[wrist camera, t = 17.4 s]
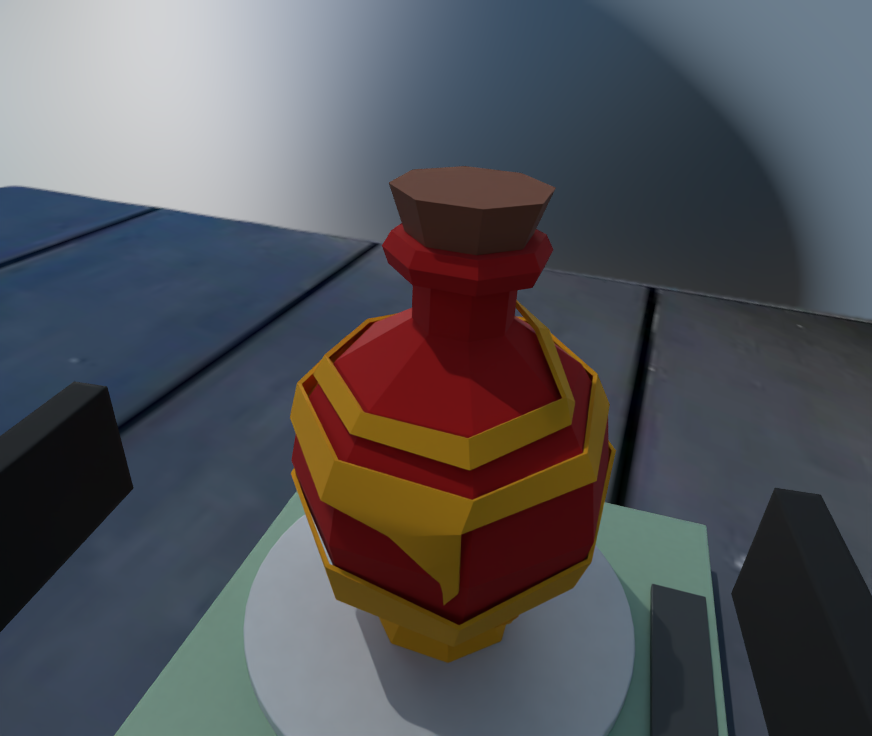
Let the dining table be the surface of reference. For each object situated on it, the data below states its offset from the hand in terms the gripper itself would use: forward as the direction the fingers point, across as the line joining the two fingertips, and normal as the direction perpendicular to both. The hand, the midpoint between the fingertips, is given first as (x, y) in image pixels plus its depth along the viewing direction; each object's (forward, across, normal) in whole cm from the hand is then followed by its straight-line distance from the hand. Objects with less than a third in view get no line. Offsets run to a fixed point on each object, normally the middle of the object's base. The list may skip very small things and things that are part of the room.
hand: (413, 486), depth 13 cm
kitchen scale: (+6, +1, -14) cm, 15 cm away
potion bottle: (+6, 0, -11) cm, 12 cm away
